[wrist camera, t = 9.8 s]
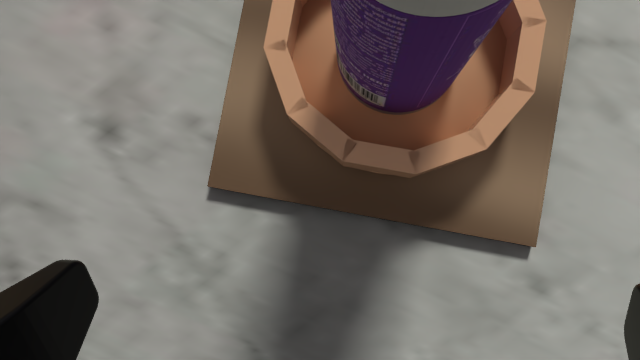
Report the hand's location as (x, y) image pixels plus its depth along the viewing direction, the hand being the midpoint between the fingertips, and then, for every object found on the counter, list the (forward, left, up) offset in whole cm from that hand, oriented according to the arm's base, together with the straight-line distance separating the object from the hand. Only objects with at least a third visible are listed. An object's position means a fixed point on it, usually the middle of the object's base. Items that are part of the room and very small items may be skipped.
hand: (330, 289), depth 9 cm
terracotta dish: (+8, -1, -12) cm, 15 cm away
